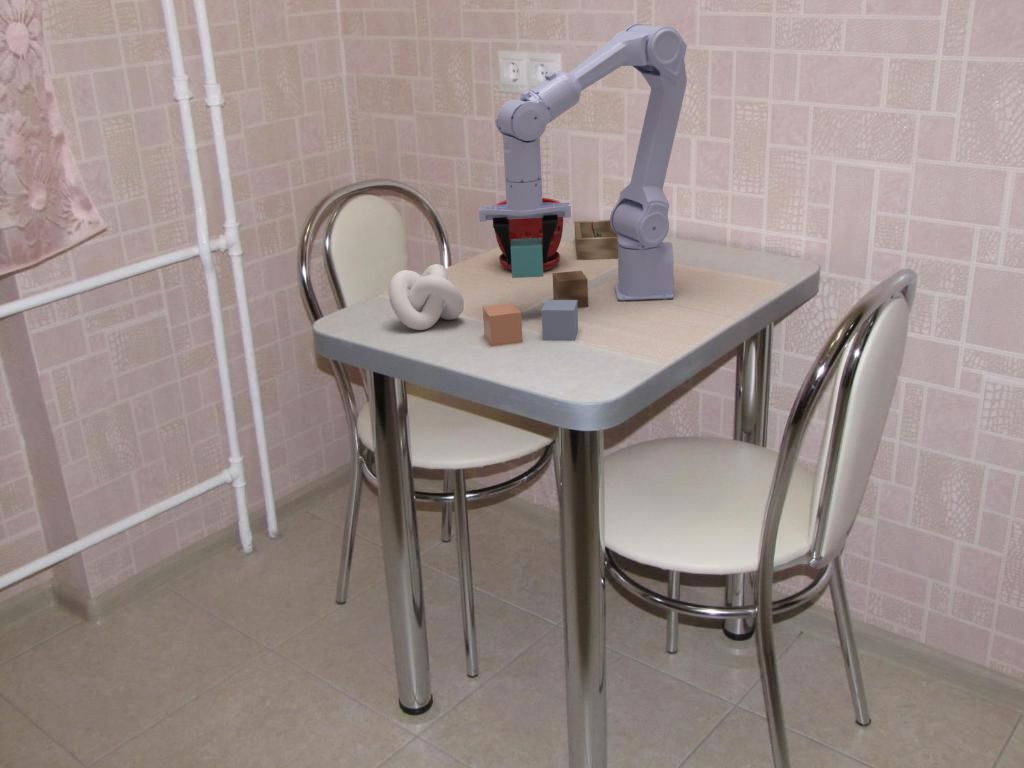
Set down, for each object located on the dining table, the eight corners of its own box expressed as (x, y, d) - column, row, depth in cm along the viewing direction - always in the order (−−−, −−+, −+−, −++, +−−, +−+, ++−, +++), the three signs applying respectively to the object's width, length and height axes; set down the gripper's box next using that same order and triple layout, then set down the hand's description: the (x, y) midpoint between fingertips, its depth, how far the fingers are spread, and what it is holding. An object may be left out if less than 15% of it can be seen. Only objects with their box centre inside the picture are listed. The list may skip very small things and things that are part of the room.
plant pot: (482, 267, 203) (478, 206, 198) (533, 253, 211) (531, 193, 206) (527, 281, 194) (524, 216, 189) (579, 265, 201) (577, 203, 197)
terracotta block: (514, 332, 169) (513, 302, 167) (522, 342, 165) (521, 312, 163) (484, 336, 168) (482, 306, 166) (491, 346, 164) (489, 316, 162)
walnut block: (581, 298, 183) (581, 270, 181) (588, 307, 179) (587, 278, 177) (553, 301, 183) (552, 273, 181) (559, 310, 178) (558, 281, 176)
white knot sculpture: (478, 313, 178) (475, 262, 175) (447, 338, 168) (443, 284, 165) (418, 308, 182) (413, 258, 179) (384, 332, 172) (379, 279, 169)
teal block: (543, 267, 175) (541, 237, 173) (543, 276, 170) (542, 246, 168) (512, 268, 175) (511, 239, 173) (512, 277, 170) (510, 247, 168)
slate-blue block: (578, 329, 169) (577, 300, 167) (574, 341, 164) (573, 310, 162) (546, 329, 170) (545, 299, 168) (542, 340, 165) (541, 310, 163)
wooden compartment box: (643, 237, 217) (643, 218, 215) (650, 257, 204) (650, 236, 202) (575, 240, 217) (574, 221, 216) (577, 259, 204) (576, 239, 203)
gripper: (568, 171, 170) (571, 253, 175) (478, 175, 171) (483, 257, 176) (570, 180, 164) (572, 265, 169) (476, 185, 164) (481, 269, 170)
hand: (527, 262), depth 172 cm, fingers closed on teal block, 5 cm apart
